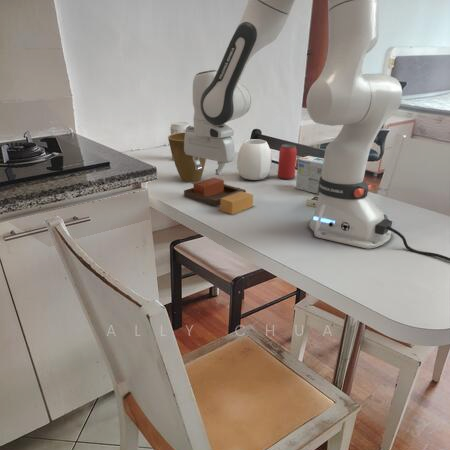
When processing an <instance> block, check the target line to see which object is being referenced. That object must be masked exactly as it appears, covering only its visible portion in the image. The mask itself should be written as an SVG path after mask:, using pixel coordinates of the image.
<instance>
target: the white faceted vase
mask: <svg viewBox="0 0 450 450" xmlns="http://www.w3.org/2000/svg"><path fill="white" fill-rule="evenodd" d="M272 157H273V155H272V151H271V148H270V145H269V144H268V142H267V140H264V139H258V138H257V139H256V138H255V139H252V138H251V139H245V140H244V141H243V142H242V143H241V146H240V148H239V150H238V154H237V158H236V159H237V160H236V169H237V171H238V174H239V175H240V176H241V177H242V179H245V180H249V181H260V180H264V179H265V178H267V177H268V176H269V174H270V172H271V170H272V162H273V161H272V160H273V159H272Z"/></svg>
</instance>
